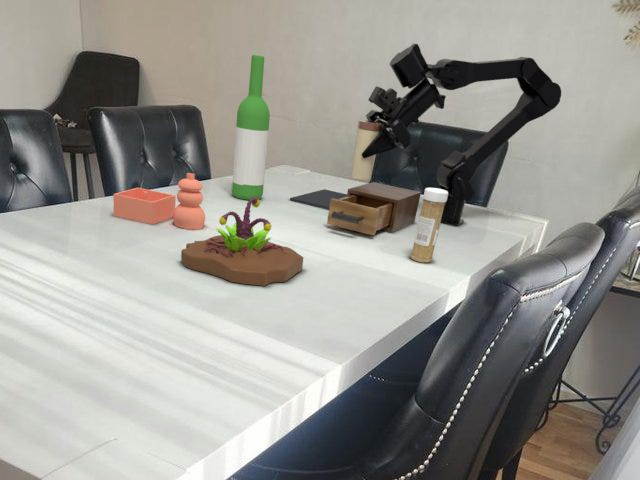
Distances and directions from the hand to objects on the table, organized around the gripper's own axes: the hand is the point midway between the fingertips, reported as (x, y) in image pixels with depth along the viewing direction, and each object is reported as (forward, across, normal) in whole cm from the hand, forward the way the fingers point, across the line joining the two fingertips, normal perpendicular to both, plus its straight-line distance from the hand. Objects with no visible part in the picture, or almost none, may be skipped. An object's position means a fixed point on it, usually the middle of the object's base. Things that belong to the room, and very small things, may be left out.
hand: (359, 154), depth 152 cm
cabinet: (+5, +6, +14) cm, 16 cm away
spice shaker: (+3, 0, +5) cm, 5 cm away
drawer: (+11, +15, +7) cm, 20 cm away
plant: (+33, +47, -14) cm, 59 cm away
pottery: (+42, +18, -23) cm, 52 cm away
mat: (+9, -12, +10) cm, 18 cm away
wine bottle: (+27, -10, -8) cm, 29 cm away
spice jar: (+6, +36, +13) cm, 39 cm away
